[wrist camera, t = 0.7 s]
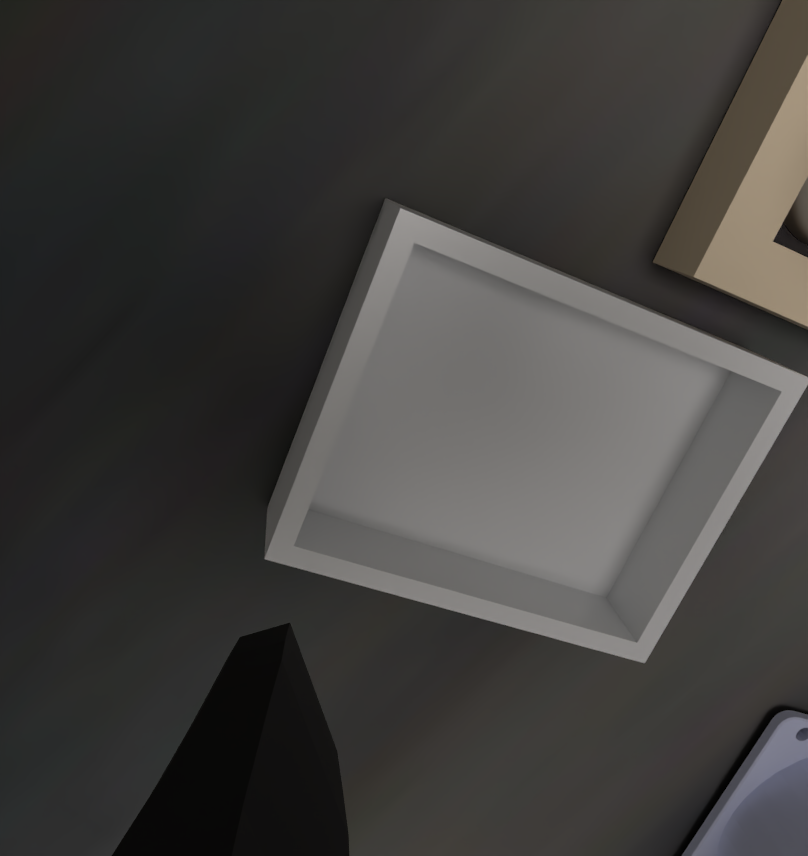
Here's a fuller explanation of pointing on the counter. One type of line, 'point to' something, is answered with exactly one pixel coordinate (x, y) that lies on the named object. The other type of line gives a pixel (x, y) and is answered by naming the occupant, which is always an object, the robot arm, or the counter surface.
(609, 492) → the tray
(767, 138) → the socket block
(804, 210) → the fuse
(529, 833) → the counter surface
